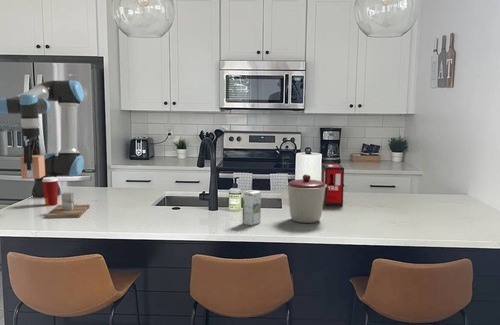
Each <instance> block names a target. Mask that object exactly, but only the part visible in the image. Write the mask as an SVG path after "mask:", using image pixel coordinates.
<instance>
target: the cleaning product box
mask: <svg viewBox="0 0 500 325" xmlns="http://www.w3.org/2000/svg"><path fill="white" fill-rule="evenodd" d="M344 177H345V167H343V166H342V165H341V164H340V163H333V162H331V163H330V162H329V163H327V162H325V163H323V162H322V163H321V182H323V183H324V184H326V185H327V187H326V188H325V194H324V201H323V206H325V207H343V206H344V182H345V180H344V179H345V178H344Z"/></svg>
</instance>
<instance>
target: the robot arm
mask: <svg viewBox="0 0 500 325" xmlns="http://www.w3.org/2000/svg"><path fill="white" fill-rule="evenodd" d="M84 94H85V93H84V89H83V86H82V84H81V83H80V82H79V81H78V80H53V79H52V80H48V81H44V82H40V83H38V84H36V85H33V86H32V87H31V89H29V90H27V91H24V92H22V93H19V94H17V95H15V96H12V97H5V98H4V97H2V98H0V113H1V114H4V115H11V114H12V115H18V114H20V121H19V122H20V124H21V127H22V128H21V136H22V137H25V140H22V142H23V156H24V163H26V170H27V177H34V175H33V163H32V155H44V162H45V176H43V177H41V178H33V179H34V182H33V186H32V189H31V196H32V197H37V198H43V197H44V198H45V196H44V188H43V181H42V180H43V178H46V177H78V176H80V175H81V174H82V172H83V169H84V167H85V166H84V164H85V161H84V159H85V158H84V157H83V155H81V152H80V151H79V150H78V107H79V106H81V103H82V102H83V101H84V99H85V98H84V97H85V95H84ZM50 102H57V105H58V106H59V107H60V150H58V153H57V155H56V153H55V152H51V153H50V152H49V153H42V154H41V148H40V138H38V137H39V136H40V134H41V133H40V119H39V118H40V117H39V115H43V114H46V113H48V112H49V111H50V108H51V104H50ZM60 194H62V192H61V187H60V185H59V184H58V195H60Z"/></svg>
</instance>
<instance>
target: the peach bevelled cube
mask: <svg viewBox="0 0 500 325" xmlns="http://www.w3.org/2000/svg"><path fill="white" fill-rule="evenodd" d="M19 159H20V160H19V161H20V172H21V174H20V175H21V179H22V180H23V179H24V180H25V179H30V180H31V179H34V178H41V177H43V176H45V162H44V155H42V154H40V155H32V163H33V175H34V177H27V170H26V163H24V155H23V156H20V157H19Z"/></svg>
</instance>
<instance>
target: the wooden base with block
mask: <svg viewBox="0 0 500 325" xmlns="http://www.w3.org/2000/svg"><path fill="white" fill-rule="evenodd" d="M74 194H75V192H74V191H73V192H72V191H68V192H67V191H65V192H63V193H61V204H60V205H59V204H57V205H56V207H54V208H53V209H52V210H50V211H49V212H48V213H46V214H45V215H44V216H45V219H64V218H65V219H66V218H67V219H69V218H73V219H74V218H81V216H83V214H84V213H86V212H87V210H89V209H90V203H89V204H88V203H87V204H75V195H74Z"/></svg>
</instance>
